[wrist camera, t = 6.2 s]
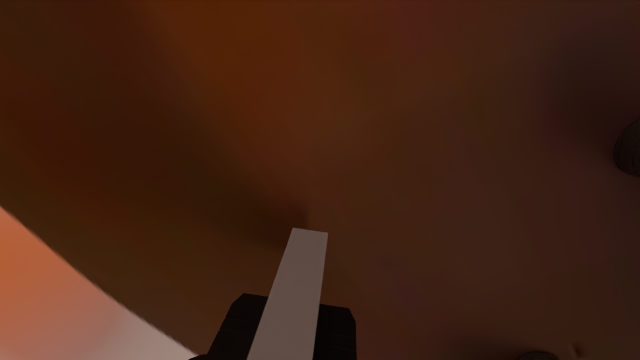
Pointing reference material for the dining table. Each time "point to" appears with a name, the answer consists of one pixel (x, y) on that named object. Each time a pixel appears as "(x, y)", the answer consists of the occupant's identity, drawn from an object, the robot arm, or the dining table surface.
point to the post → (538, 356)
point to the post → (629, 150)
